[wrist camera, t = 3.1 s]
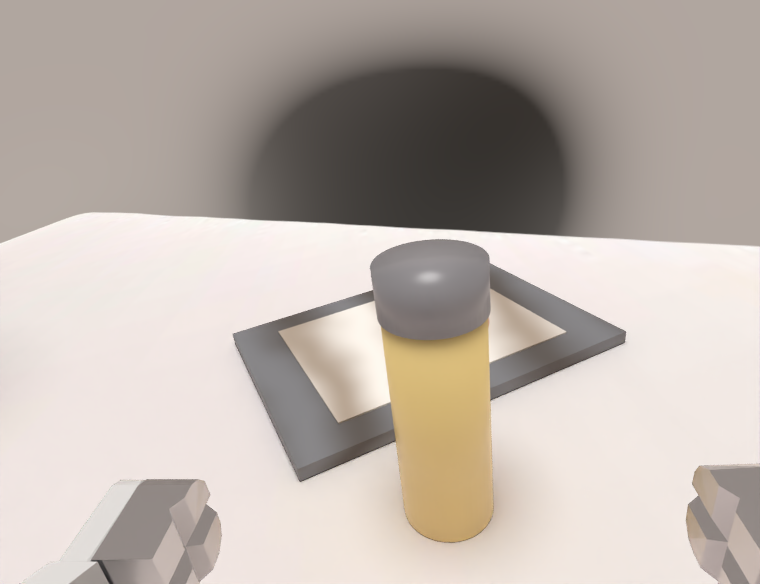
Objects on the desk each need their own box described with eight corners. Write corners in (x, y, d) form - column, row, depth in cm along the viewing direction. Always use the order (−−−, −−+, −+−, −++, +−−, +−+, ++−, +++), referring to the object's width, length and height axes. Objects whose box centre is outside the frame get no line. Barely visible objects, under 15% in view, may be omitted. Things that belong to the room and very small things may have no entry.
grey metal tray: (299, 481, 26) (296, 466, 26) (235, 343, 39) (231, 331, 39) (624, 342, 34) (626, 328, 33) (478, 265, 47) (478, 255, 47)
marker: (432, 561, 21) (405, 299, 16) (386, 492, 25) (351, 258, 20) (515, 516, 23) (515, 263, 18) (461, 457, 26) (447, 231, 21)
